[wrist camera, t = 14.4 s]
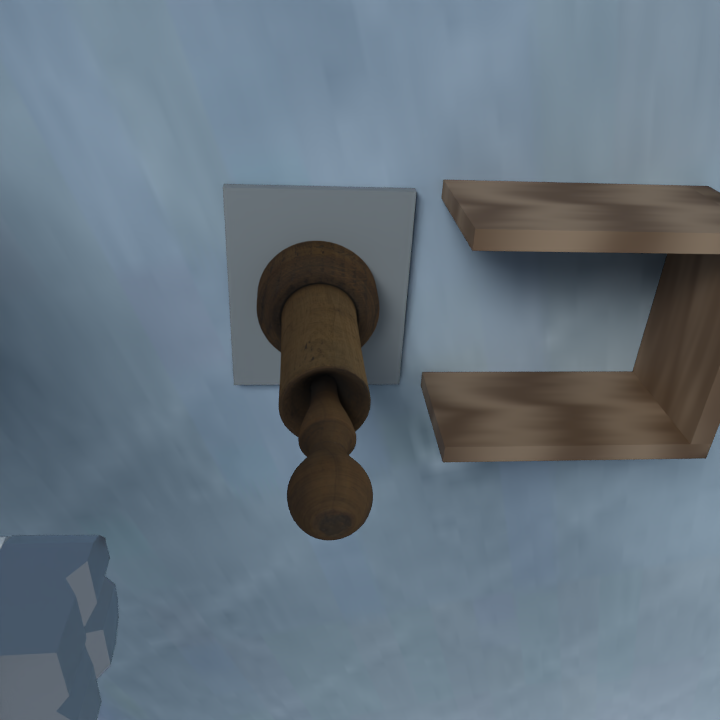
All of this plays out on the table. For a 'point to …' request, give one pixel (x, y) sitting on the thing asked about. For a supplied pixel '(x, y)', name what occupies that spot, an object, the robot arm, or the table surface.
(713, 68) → the table surface
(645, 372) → the walnut bay
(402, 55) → the table surface
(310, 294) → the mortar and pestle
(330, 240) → the grey rubber mat
